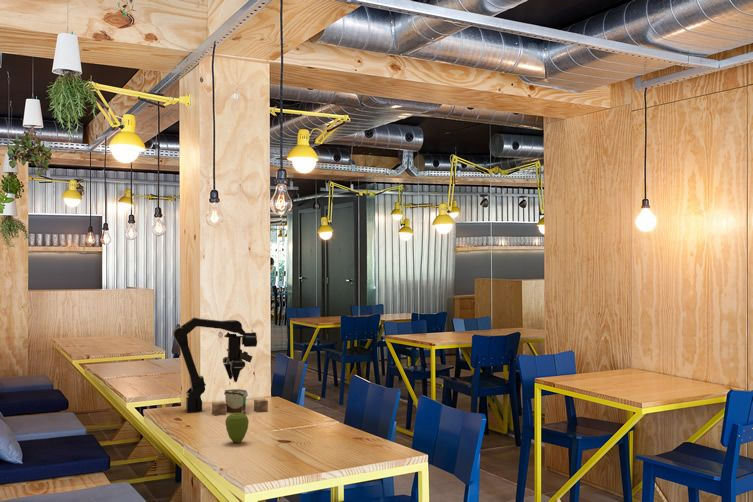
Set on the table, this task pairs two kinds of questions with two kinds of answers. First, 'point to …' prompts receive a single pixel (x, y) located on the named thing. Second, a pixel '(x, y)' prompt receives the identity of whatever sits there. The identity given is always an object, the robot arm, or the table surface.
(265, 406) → the dotted block right
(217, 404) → the dotted block left
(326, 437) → the table surface
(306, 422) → the table surface
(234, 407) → the food container
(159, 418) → the table surface
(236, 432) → the green tapered egg
